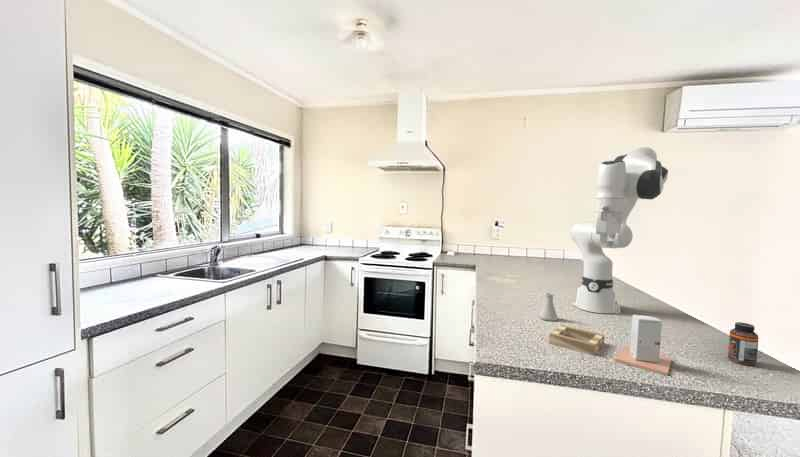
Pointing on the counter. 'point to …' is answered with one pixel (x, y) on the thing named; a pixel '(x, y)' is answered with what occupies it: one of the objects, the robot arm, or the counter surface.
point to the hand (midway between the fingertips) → (607, 246)
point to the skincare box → (645, 338)
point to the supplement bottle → (743, 344)
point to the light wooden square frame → (577, 339)
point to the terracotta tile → (644, 362)
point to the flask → (548, 309)
